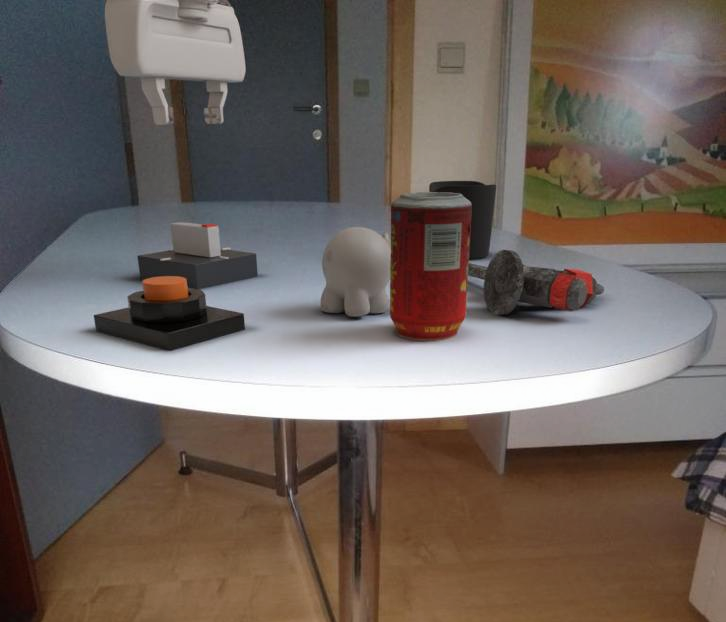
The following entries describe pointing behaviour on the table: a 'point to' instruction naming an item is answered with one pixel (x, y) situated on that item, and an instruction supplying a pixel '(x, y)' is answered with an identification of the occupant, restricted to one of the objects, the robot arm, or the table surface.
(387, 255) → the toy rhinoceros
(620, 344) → the table surface
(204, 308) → the control block
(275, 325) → the table surface
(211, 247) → the selector knob
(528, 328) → the table surface
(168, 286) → the button
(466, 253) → the soda can
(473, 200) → the pen holder
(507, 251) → the valve
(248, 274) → the block
